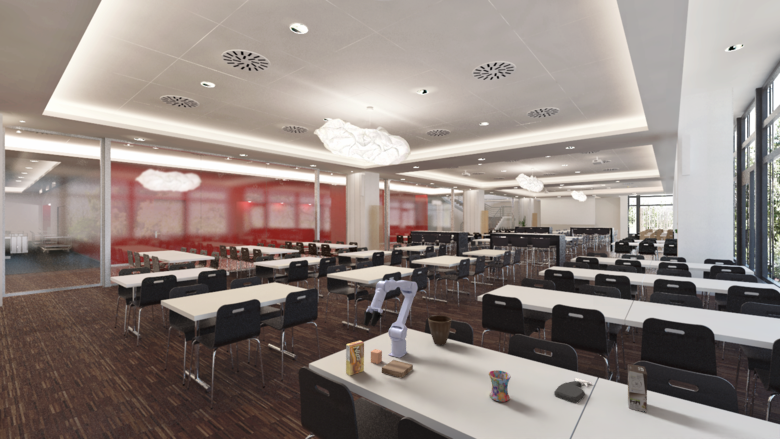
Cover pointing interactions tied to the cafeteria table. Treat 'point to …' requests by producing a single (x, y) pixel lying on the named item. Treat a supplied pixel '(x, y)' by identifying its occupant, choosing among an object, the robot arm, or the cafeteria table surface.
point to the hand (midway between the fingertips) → (368, 325)
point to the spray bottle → (571, 390)
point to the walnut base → (397, 368)
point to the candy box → (354, 357)
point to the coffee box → (637, 387)
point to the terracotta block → (376, 356)
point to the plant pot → (439, 328)
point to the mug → (499, 385)
